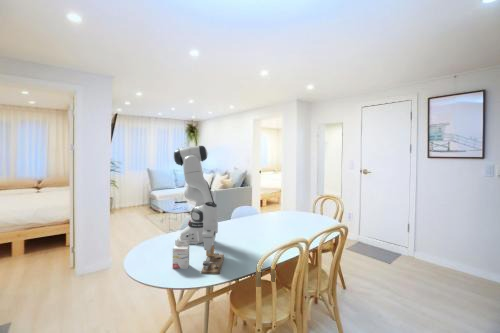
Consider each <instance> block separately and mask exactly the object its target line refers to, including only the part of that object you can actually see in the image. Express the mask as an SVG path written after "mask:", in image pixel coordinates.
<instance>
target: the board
mask: <svg viewBox="0 0 500 333" xmlns="http://www.w3.org/2000/svg"><path fill="white" fill-rule="evenodd" d="M219 254H220V253H219ZM224 258H225V254H222V253H221V254H220V258H219V255H213V256H206V259H205V260H204V261H203V262H202V268H201V271H200V272H201V274H207V275H209V274H210V275H211V274H212V275H220V274H221V270H222V266H223V263H224V262H223V261H224Z"/></svg>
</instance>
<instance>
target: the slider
mask: <svg viewBox="0 0 500 333" xmlns="http://www.w3.org/2000/svg"><path fill="white" fill-rule="evenodd" d="M205 251H206V250H205ZM205 253H206V257H207V256H213V255H219V258H220V253H219V252H215V245H214V244H213V246H212V248H211V254H208V251H206V252H205Z"/></svg>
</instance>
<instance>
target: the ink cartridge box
mask: <svg viewBox="0 0 500 333" xmlns="http://www.w3.org/2000/svg"><path fill="white" fill-rule="evenodd" d="M180 242H185V243H180ZM189 266H190V244H189V241H187V240H177V239H175V243H174V246H173V248H172V269H185V270H186V269H188V268H189Z"/></svg>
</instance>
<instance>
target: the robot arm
mask: <svg viewBox="0 0 500 333" xmlns="http://www.w3.org/2000/svg"><path fill="white" fill-rule="evenodd" d="M208 154H209V153H208V150H207V148H206V147H205V146H204V145H198V146H197V145H195V146H193V145H192V146H188V147H184V148H183V147H182V148H178V149H176V150H174V152H173V161H174V162H175V164H176V165H178V166H181V167H182V168H183V175H184V181H185V183H186V184H187V187H186V188H185V190H184V192H183V194H184V195H183V196H184V198H185V199H187V200H188V201H190V202H194V203H195V207H193V208H192V209H191V211H190V219H189V220H188V222H187V225H188V226H186V227H185V228H183V229H182V230H181V231H180V234H179V236H178V237H177V238H176V240H187V241H189V245H198V244H201V243H203V249H204V251H208V254H211V248H212V246H213V245H214V243H215V241H216V234H218V232H219V223H218V219H219V208H218V205H217V203H215V201H214V199H215V193H214V191H213V190H211V188H210V185H209V183H208V181H207V180H206V179H205V177H204V173H203V167H202V163H203V162H204V161H206V160H207V158H208ZM201 162H202V163H201ZM180 243H185V242H180Z"/></svg>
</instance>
